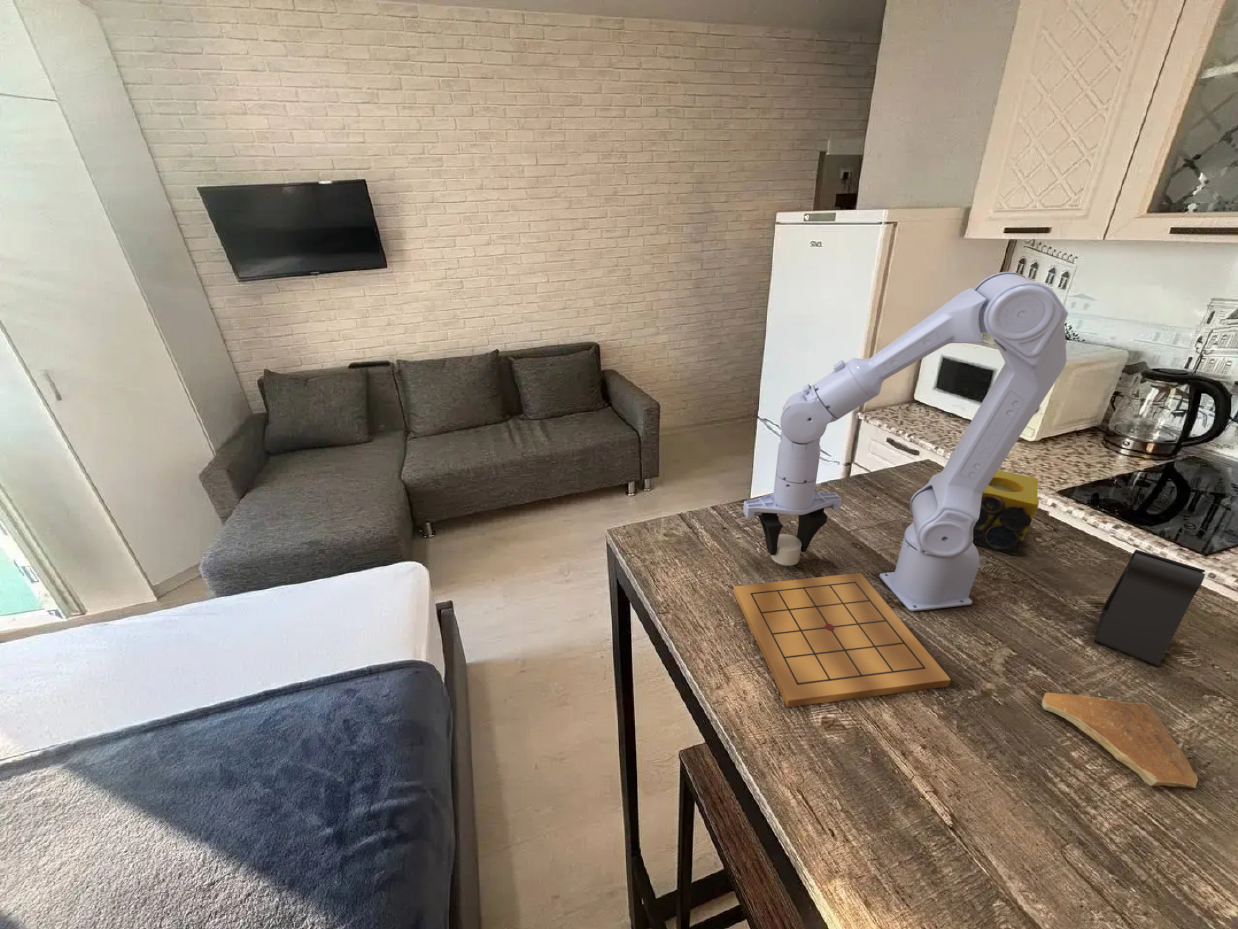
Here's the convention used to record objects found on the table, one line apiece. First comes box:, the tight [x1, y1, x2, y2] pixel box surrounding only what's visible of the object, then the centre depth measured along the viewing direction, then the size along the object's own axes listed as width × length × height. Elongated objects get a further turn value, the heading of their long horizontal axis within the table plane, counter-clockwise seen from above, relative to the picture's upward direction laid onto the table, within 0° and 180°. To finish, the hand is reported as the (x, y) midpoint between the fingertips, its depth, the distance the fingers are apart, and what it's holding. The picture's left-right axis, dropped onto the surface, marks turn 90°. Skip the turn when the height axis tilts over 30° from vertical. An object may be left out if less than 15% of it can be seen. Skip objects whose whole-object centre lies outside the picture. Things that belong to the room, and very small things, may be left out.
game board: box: [733, 572, 952, 708], centre depth 68 cm, size 20×20×1 cm
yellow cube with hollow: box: [972, 469, 1040, 556], centre depth 86 cm, size 10×10×10 cm
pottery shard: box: [1041, 692, 1199, 789], centre depth 53 cm, size 10×9×2 cm
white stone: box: [770, 533, 802, 567], centre depth 81 cm, size 4×4×3 cm
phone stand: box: [1093, 549, 1206, 667], centre depth 64 cm, size 9×6×12 cm, turn 134°
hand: (786, 549), depth 81 cm, fingers closed on white stone, 4 cm apart
